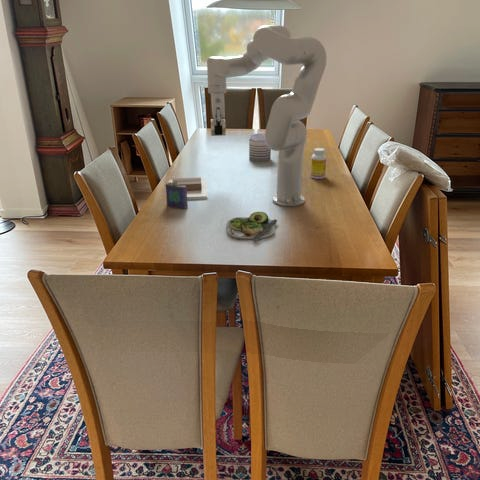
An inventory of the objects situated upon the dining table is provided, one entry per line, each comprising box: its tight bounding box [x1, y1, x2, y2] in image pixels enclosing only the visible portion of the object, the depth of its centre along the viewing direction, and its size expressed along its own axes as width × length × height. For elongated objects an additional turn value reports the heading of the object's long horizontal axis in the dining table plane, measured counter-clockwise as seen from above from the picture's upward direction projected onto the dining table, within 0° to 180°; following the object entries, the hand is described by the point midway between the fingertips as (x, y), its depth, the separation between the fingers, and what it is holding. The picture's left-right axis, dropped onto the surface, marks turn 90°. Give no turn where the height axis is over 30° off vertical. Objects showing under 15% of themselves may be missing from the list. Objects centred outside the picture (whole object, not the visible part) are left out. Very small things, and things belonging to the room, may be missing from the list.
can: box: [248, 133, 272, 164], centre depth 234 cm, size 11×11×12 cm
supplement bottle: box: [309, 147, 327, 180], centre depth 209 cm, size 7×7×13 cm
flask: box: [165, 180, 189, 210], centre depth 177 cm, size 9×3×11 cm, turn 63°
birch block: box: [210, 118, 227, 137], centre depth 198 cm, size 4×6×6 cm
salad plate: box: [226, 211, 278, 242], centre depth 158 cm, size 19×18×5 cm
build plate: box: [168, 178, 208, 201], centre depth 196 cm, size 22×16×1 cm
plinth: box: [171, 176, 202, 191], centre depth 195 cm, size 8×12×3 cm, turn 96°
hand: (218, 132), depth 199 cm, fingers closed on birch block, 4 cm apart
